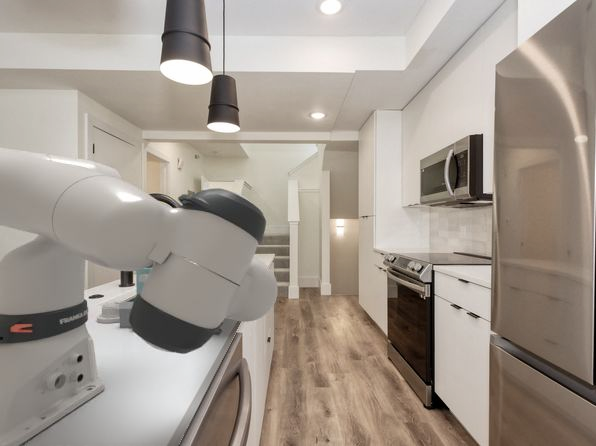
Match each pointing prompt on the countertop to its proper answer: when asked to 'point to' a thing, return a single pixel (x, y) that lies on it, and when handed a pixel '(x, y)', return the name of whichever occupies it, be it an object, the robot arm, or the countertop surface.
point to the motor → (125, 312)
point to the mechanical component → (109, 313)
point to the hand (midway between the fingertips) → (148, 274)
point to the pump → (138, 272)
